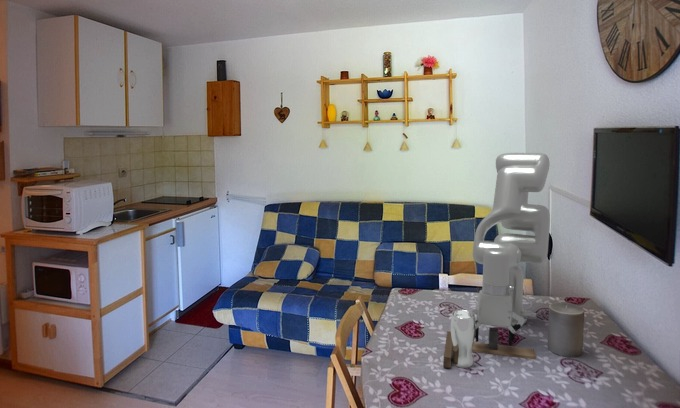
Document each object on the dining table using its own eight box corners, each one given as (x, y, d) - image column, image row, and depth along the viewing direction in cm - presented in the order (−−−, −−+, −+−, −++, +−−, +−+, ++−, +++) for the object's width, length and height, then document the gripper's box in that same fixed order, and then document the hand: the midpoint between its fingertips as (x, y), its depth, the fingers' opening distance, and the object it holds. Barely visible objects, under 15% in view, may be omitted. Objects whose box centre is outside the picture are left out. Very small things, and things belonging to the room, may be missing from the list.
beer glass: (476, 369, 124) (477, 319, 122) (451, 368, 125) (452, 318, 123) (472, 357, 131) (473, 309, 129) (448, 356, 132) (449, 309, 130)
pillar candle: (579, 345, 138) (581, 299, 135) (585, 359, 128) (587, 311, 126) (545, 341, 141) (547, 296, 139) (548, 355, 132) (550, 307, 130)
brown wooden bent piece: (533, 351, 134) (534, 330, 133) (542, 381, 117) (543, 357, 116) (447, 341, 141) (447, 321, 140) (443, 368, 125) (443, 345, 124)
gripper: (524, 287, 133) (522, 339, 136) (465, 282, 138) (464, 333, 141) (527, 295, 126) (524, 351, 129) (465, 290, 131) (463, 343, 134)
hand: (493, 341), depth 135 cm, fingers open, 9 cm apart
